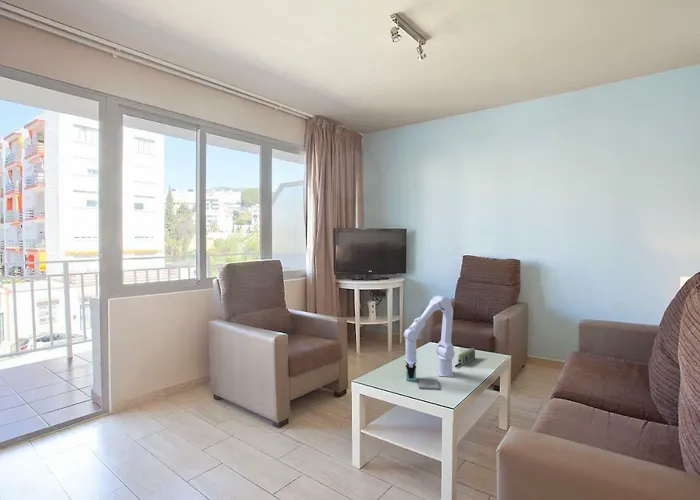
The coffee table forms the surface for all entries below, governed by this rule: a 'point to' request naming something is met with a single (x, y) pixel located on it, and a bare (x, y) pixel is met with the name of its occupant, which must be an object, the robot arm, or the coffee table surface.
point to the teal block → (411, 378)
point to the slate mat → (428, 384)
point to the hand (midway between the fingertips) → (411, 376)
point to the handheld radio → (466, 357)
